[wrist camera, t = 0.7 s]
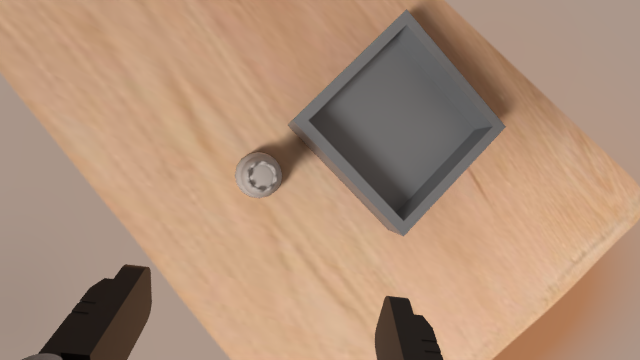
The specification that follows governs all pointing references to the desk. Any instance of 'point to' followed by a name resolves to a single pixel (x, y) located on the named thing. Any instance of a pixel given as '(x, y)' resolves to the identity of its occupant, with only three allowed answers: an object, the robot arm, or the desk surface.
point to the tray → (398, 125)
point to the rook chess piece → (258, 175)
